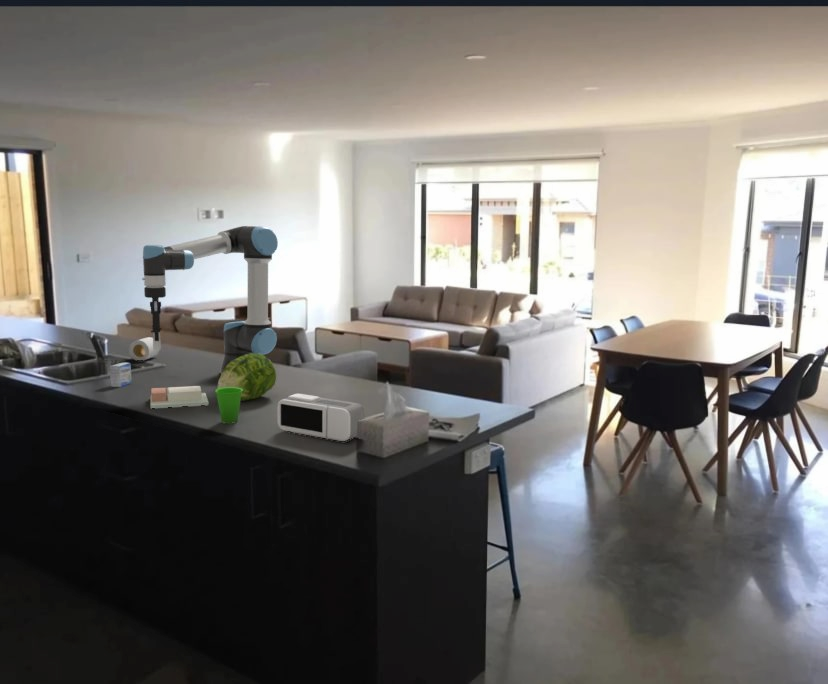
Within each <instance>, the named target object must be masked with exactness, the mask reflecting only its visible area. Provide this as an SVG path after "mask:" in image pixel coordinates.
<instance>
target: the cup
mask: <svg viewBox="0 0 828 684" xmlns="http://www.w3.org/2000/svg"><path fill="white" fill-rule="evenodd" d="M242 391H243V389H241V388H237V387H224V388H219V389H218V388H216V389H215V391H214V392H215V393H216V398H217V399H216V400H217V404H218V409H219V413H220V421H221V423H222V422H225V423H232V422H236V421H237V422H238V420H239V414H240V413H239V412H240V405H241V401H240V400H241V393H242ZM237 422H236V423H237ZM225 423H224V424H225ZM232 424H233V423H232Z"/></svg>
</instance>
